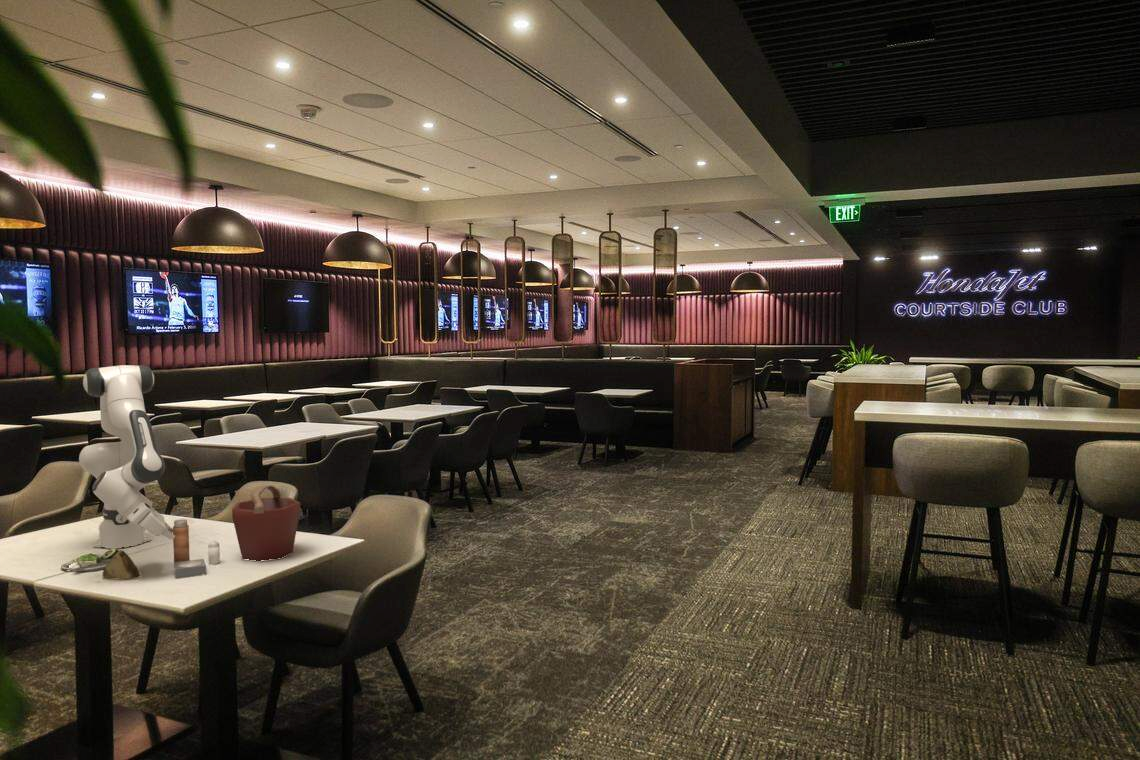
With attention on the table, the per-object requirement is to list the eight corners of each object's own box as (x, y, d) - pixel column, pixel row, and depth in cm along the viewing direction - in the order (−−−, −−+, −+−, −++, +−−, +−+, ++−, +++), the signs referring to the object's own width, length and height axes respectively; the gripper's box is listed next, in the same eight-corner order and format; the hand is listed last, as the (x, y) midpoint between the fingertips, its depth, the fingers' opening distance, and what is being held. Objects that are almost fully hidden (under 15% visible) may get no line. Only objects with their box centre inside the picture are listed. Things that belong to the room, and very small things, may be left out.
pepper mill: (173, 565, 265) (172, 520, 264) (189, 563, 268) (187, 518, 267) (174, 569, 261) (173, 523, 260) (190, 567, 263) (188, 521, 262)
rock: (91, 573, 250) (106, 574, 244) (106, 548, 254) (121, 548, 249) (121, 585, 257) (136, 587, 251) (135, 561, 261) (150, 562, 256)
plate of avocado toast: (96, 576, 255) (96, 562, 255) (46, 575, 256) (45, 561, 256) (134, 559, 274) (134, 546, 274) (87, 558, 276) (87, 545, 275)
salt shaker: (208, 562, 269) (207, 540, 269) (219, 561, 271) (218, 539, 270) (209, 565, 266) (208, 543, 265) (220, 563, 268) (219, 541, 267)
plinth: (174, 571, 259) (174, 562, 259) (203, 567, 264) (203, 558, 263) (175, 578, 251) (175, 569, 251) (206, 574, 256) (205, 565, 256)
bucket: (273, 566, 264) (271, 494, 263) (216, 562, 269) (214, 492, 267) (311, 547, 288) (309, 481, 287) (258, 544, 293) (256, 479, 291)
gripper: (131, 511, 264) (164, 535, 270) (131, 523, 246) (166, 549, 252) (145, 497, 266) (178, 521, 272) (146, 507, 248) (181, 533, 254)
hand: (172, 535), depth 262 cm, fingers open, 8 cm apart
